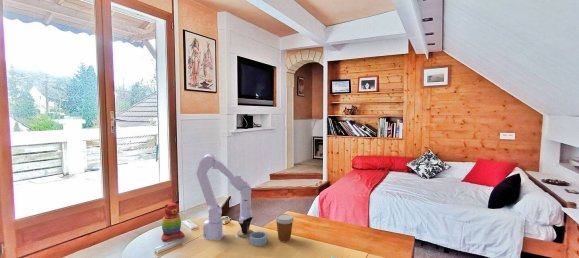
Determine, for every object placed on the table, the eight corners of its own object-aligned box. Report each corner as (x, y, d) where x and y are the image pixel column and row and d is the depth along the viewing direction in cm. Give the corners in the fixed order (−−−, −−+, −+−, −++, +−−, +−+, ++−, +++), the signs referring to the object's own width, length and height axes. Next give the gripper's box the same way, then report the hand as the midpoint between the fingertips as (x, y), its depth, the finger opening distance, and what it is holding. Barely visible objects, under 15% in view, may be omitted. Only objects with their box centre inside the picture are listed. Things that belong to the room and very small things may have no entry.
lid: (234, 236, 143) (234, 228, 143) (240, 230, 152) (240, 222, 152) (250, 238, 141) (250, 230, 141) (256, 231, 150) (256, 223, 150)
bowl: (247, 246, 135) (247, 238, 134) (252, 238, 143) (253, 230, 143) (264, 247, 133) (264, 239, 133) (269, 240, 141) (269, 232, 141)
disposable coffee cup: (291, 244, 137) (291, 221, 136) (273, 242, 139) (273, 219, 138) (294, 236, 146) (295, 214, 146) (277, 234, 148) (278, 212, 148)
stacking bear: (163, 242, 137) (163, 207, 136) (158, 235, 145) (158, 202, 144) (185, 237, 144) (185, 203, 143) (179, 230, 152) (179, 199, 151)
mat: (234, 238, 143) (234, 236, 143) (240, 231, 152) (240, 230, 152) (250, 239, 141) (250, 238, 141) (256, 232, 150) (256, 231, 150)
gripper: (248, 211, 138) (247, 238, 139) (257, 203, 152) (256, 227, 153) (235, 210, 140) (234, 236, 140) (245, 202, 154) (244, 225, 154)
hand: (245, 231), depth 147 cm, fingers closed on lid, 3 cm apart
